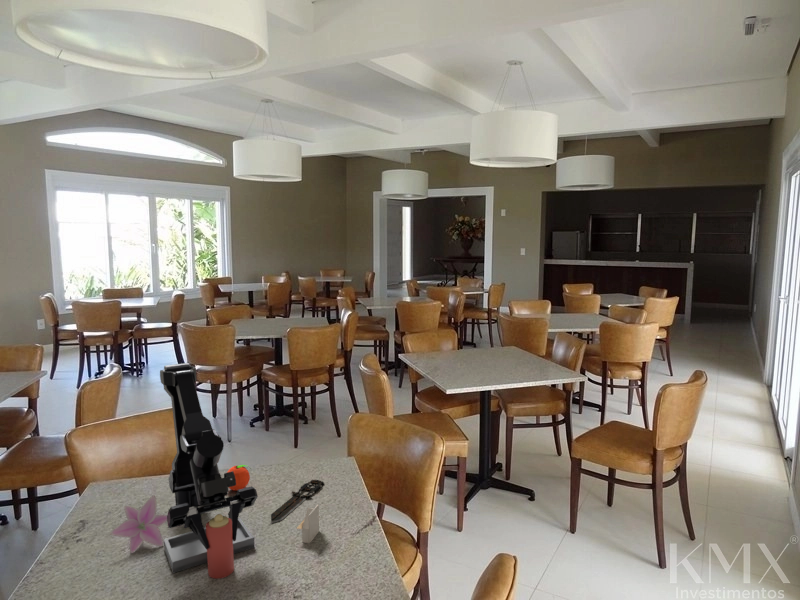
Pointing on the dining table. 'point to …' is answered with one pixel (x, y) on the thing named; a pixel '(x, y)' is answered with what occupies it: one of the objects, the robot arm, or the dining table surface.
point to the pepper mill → (220, 547)
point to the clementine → (240, 477)
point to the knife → (294, 498)
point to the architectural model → (310, 524)
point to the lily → (141, 525)
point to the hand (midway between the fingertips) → (221, 544)
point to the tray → (200, 547)
